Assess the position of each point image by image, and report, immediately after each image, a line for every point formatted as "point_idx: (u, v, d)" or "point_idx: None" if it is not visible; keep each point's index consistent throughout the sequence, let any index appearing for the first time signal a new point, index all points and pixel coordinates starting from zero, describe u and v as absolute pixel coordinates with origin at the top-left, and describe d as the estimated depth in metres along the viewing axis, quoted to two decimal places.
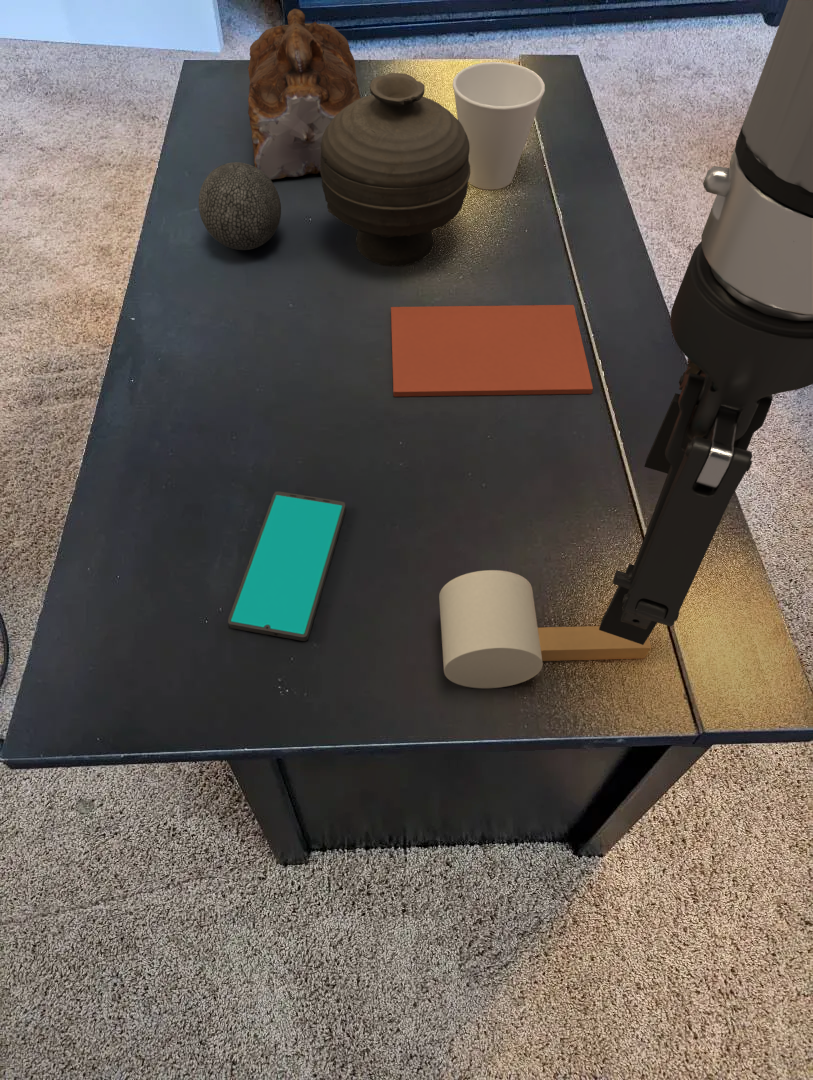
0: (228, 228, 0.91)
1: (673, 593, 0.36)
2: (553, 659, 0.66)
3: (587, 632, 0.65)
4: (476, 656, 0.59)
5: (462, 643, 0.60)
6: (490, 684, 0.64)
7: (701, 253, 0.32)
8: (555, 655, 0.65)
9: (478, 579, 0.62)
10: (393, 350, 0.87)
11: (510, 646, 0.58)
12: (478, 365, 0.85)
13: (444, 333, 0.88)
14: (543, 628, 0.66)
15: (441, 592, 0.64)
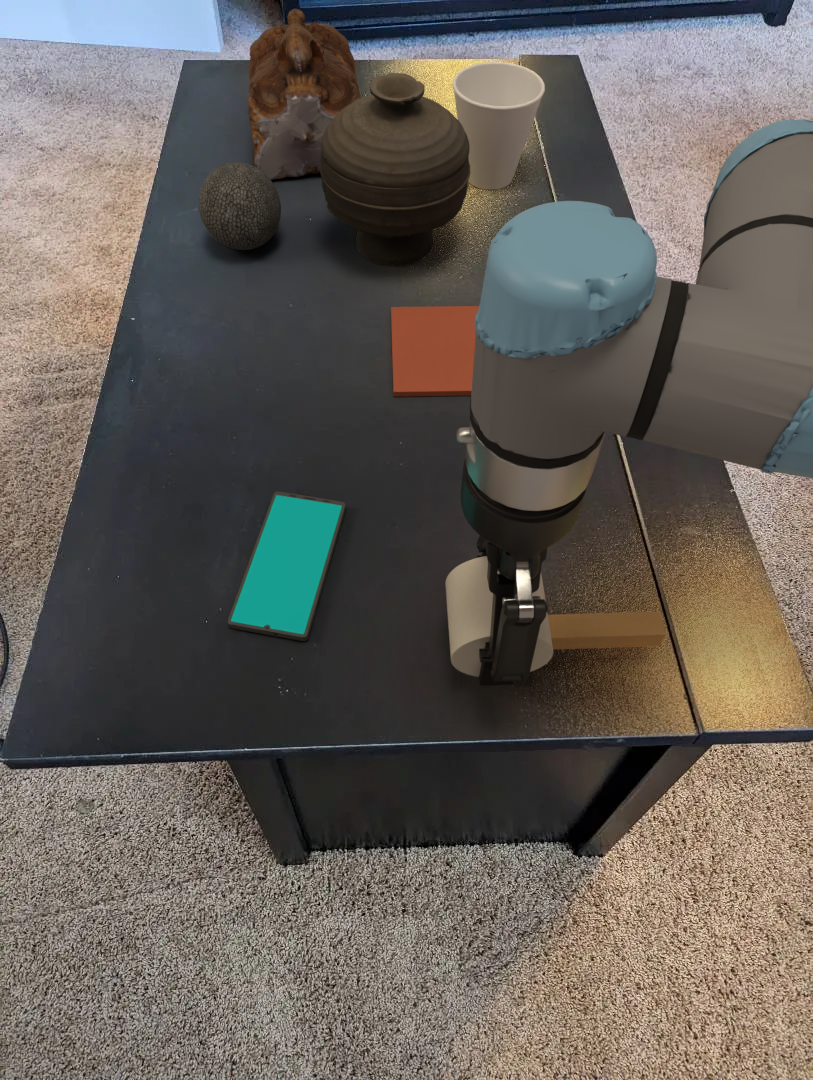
0: (228, 228, 0.91)
1: (522, 668, 0.53)
2: (564, 647, 0.64)
3: (600, 619, 0.63)
4: (484, 643, 0.57)
5: (469, 630, 0.57)
6: None
7: None
8: (566, 643, 0.63)
9: (485, 564, 0.60)
10: (393, 350, 0.87)
11: None
12: None
13: (444, 333, 0.88)
14: (553, 615, 0.63)
15: (447, 579, 0.62)
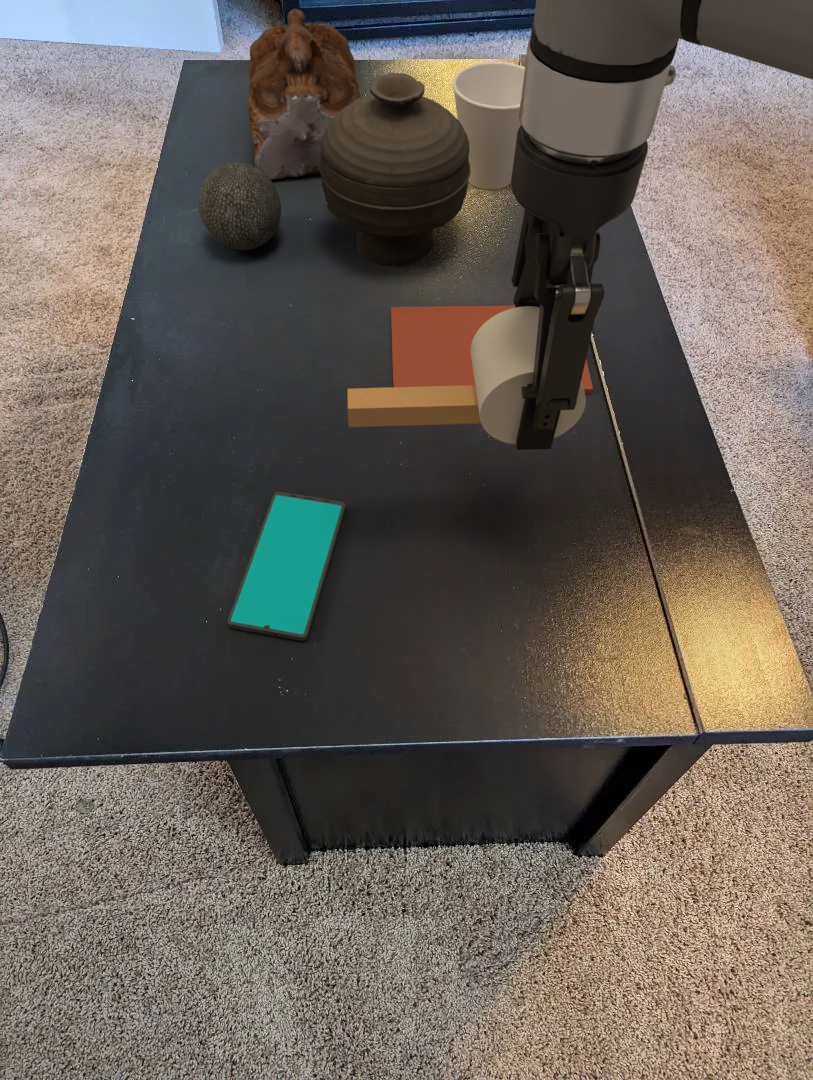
0: (228, 228, 0.91)
1: None
2: None
3: (413, 400, 0.60)
4: None
5: None
6: None
7: None
8: None
9: None
10: (393, 350, 0.87)
11: (515, 309, 0.58)
12: None
13: (444, 333, 0.88)
14: (461, 404, 0.60)
15: None
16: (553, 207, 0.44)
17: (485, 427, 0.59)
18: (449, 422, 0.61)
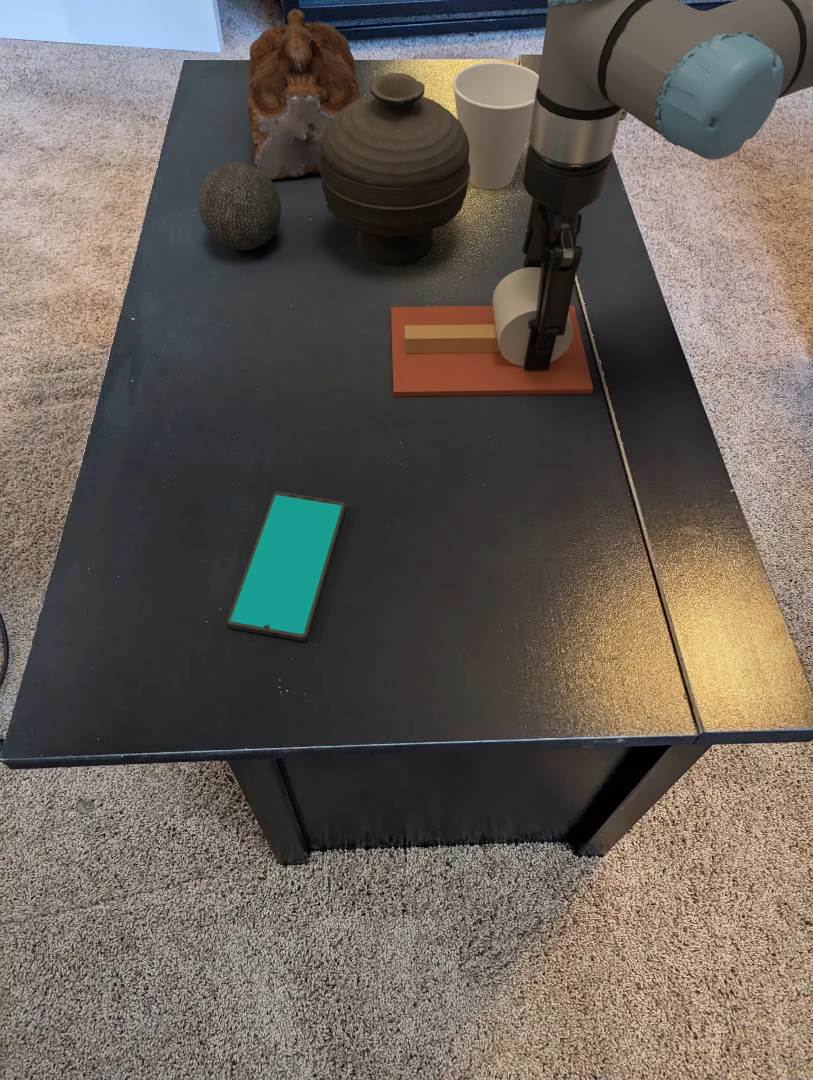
0: (228, 228, 0.91)
1: None
2: None
3: (451, 334, 0.85)
4: None
5: None
6: None
7: None
8: None
9: None
10: (393, 350, 0.87)
11: (524, 268, 0.82)
12: (478, 365, 0.85)
13: None
14: (485, 336, 0.85)
15: (572, 330, 0.81)
16: (550, 196, 0.68)
17: (502, 352, 0.83)
18: (476, 351, 0.86)
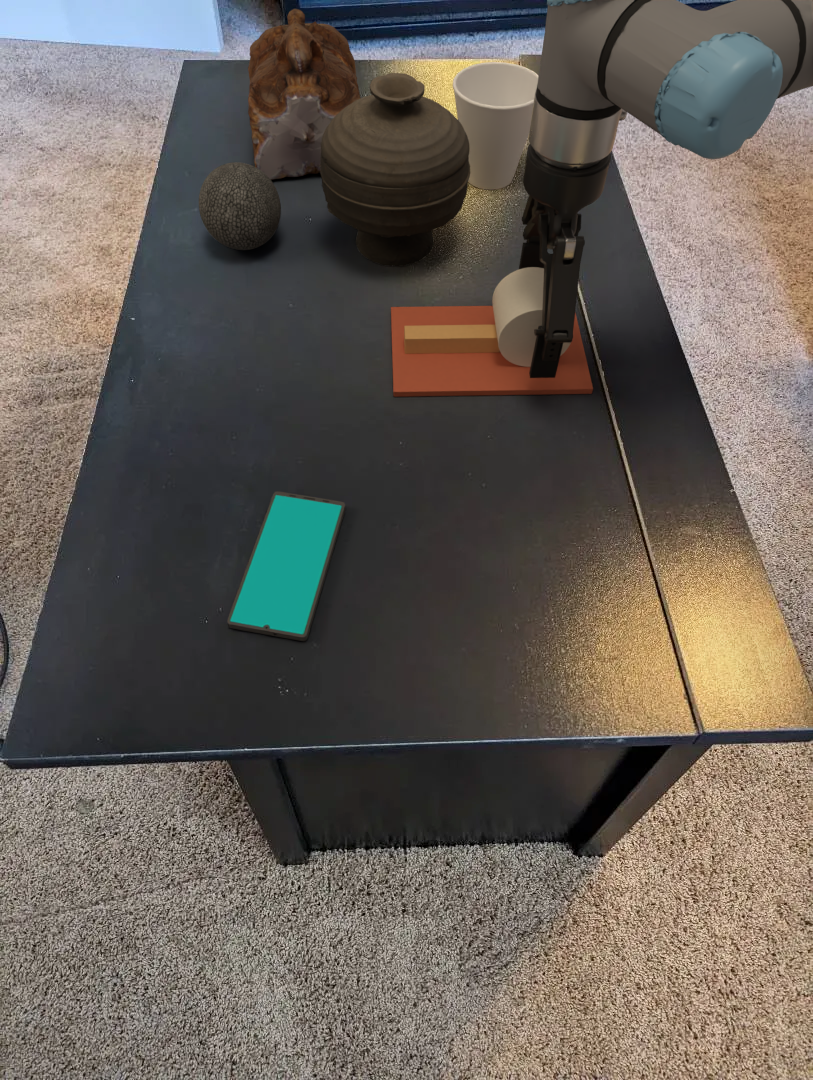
0: (228, 228, 0.91)
1: None
2: None
3: (451, 334, 0.85)
4: None
5: None
6: None
7: None
8: None
9: None
10: (393, 350, 0.87)
11: (524, 268, 0.82)
12: (478, 365, 0.85)
13: None
14: (485, 337, 0.85)
15: None
16: (549, 196, 0.68)
17: (502, 352, 0.83)
18: (476, 351, 0.86)
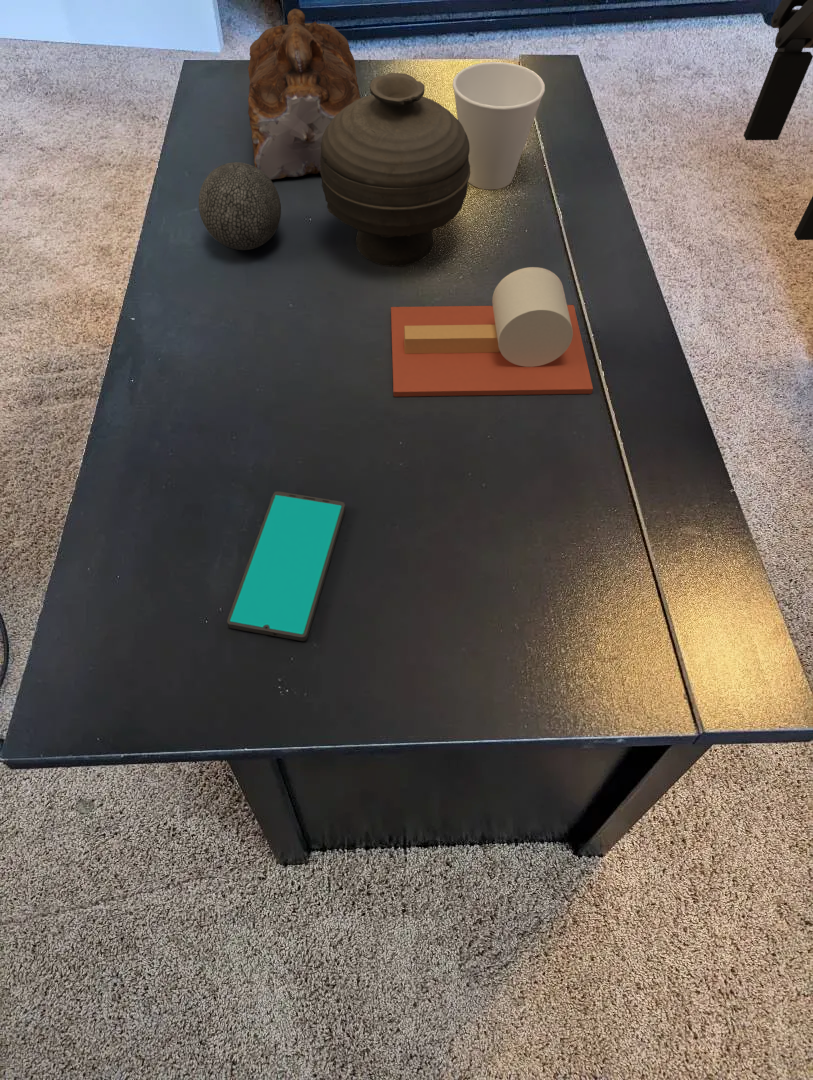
0: (228, 228, 0.91)
1: None
2: None
3: (451, 334, 0.85)
4: None
5: (556, 280, 0.83)
6: None
7: None
8: None
9: (549, 305, 0.79)
10: (393, 350, 0.87)
11: (524, 268, 0.82)
12: (478, 365, 0.85)
13: None
14: (485, 337, 0.85)
15: (572, 330, 0.81)
16: None
17: (502, 352, 0.83)
18: (476, 351, 0.86)
